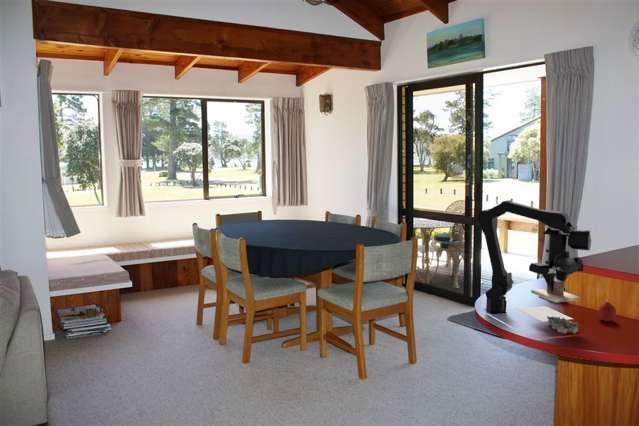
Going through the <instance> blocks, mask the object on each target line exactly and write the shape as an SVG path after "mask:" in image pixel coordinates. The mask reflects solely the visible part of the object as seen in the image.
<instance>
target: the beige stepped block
mask: <svg viewBox="0 0 639 426" xmlns="http://www.w3.org/2000/svg"><path fill="white" fill-rule="evenodd" d="M564 285H565V282H564V281H562V280H559V279H556V277H554V286H553V291H550V290H549V288H548V285H547V284H546V288H540V289H539V288H538V289H530V292H531V294H533V295H536V296H538V297H539V296H541V297H543V298H542V299H546V300H548V301H551V302H553V303H564V302H573V301H574V302H575V301H580V300H581V297H580V296H578V295H575V294H572V293H569V292H568V293H567V292H564ZM541 297H540V298H541Z"/></svg>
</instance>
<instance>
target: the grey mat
mask: <svg viewBox="0 0 639 426" xmlns="http://www.w3.org/2000/svg"><path fill="white" fill-rule="evenodd" d="M515 309H516V310H517V311H520V312H522V313H525V314H526V315H528V316H530V317H532V318H534V319H536V320H538V321H540V322H543V323H545V322H546V323H548V318H547V316H548V317H552V316H553V317H557V318H558V317H560V319H562V318H565V319H566V320H568V321H570V320H574V318H572V317H570V316H568V315H565V314H563V313H561V312H559V311H557V310H555V309H553V308H550V307H548V306H546V305H542V306H532V307H516V308H515Z"/></svg>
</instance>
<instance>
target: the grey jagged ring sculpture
mask: <svg viewBox="0 0 639 426" xmlns="http://www.w3.org/2000/svg"><path fill="white" fill-rule="evenodd" d="M547 318H548V321H547V325H548V326H551V327H552V329H554V330H556V331H557V332H558V333H562V334H567V333H572V335H573V336H574V335H575V336H577V332H578V330H579V328H578V327H579V326H580V323H579V322H578V321H577V322H576V321H575V322H574V321H570V320H566V319H565V318H562V319H560V317H558V318H557V317H553V316H552V317H548V316H547ZM564 325H565V326H564ZM565 327H566V328H565Z"/></svg>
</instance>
